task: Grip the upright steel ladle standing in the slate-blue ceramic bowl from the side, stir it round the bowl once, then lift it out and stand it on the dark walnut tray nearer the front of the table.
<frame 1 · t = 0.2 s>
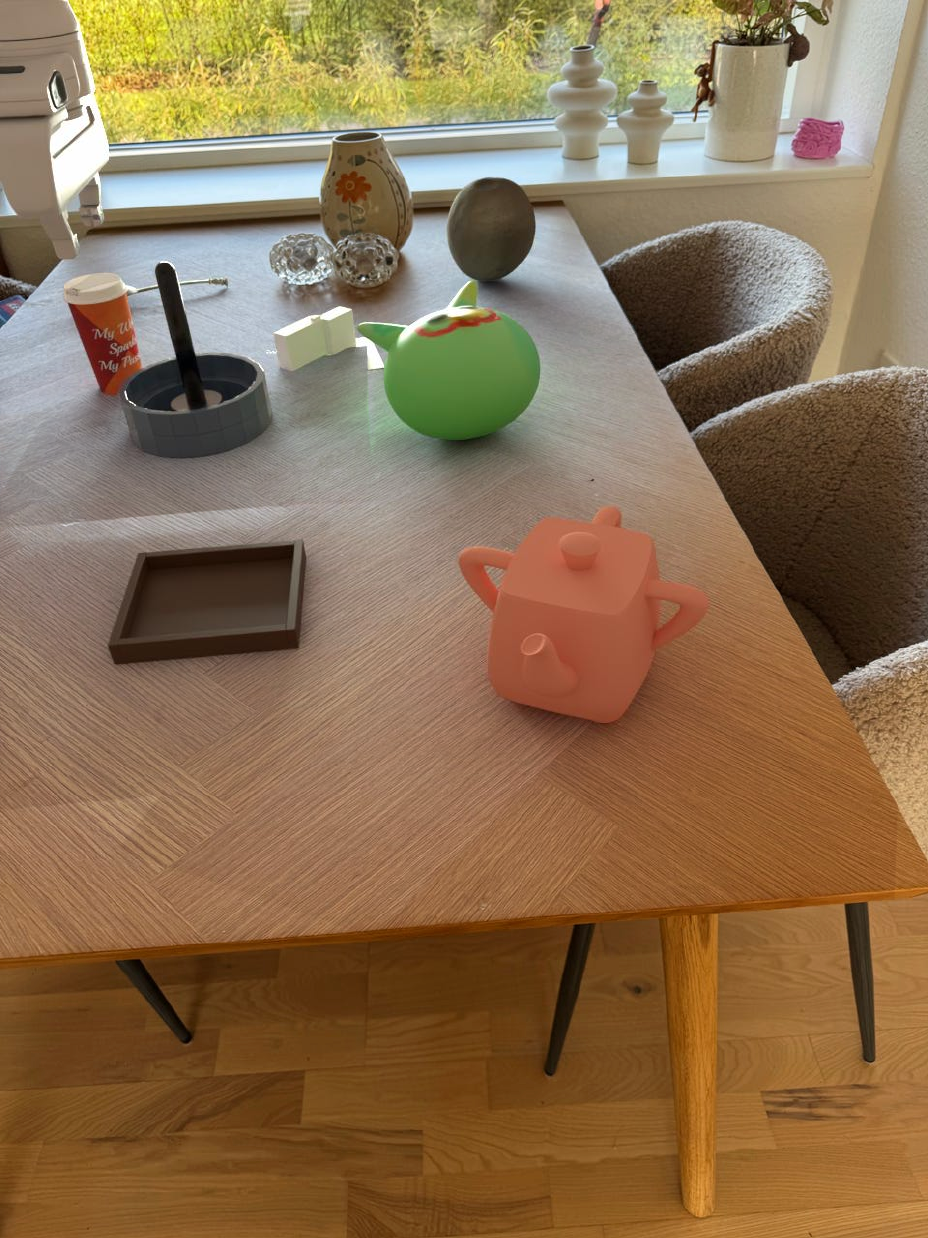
hand: (82, 240, 88), 25 cm above the table, tool pointing down, fingers open, 8 cm apart
green cartoon toy: (462, 428, 109), on the table
bowl: (203, 428, 111), on the table
soupspoon: (160, 298, 147), on the table
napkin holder: (324, 360, 126), on the table
grey stone egg: (492, 281, 147), on the table
teapot: (570, 684, 74), on the table
paper cup: (124, 390, 121), on the table
tray: (216, 607, 84), on the table
ladle: (202, 423, 111), point 1 cm above the table, touching bowl
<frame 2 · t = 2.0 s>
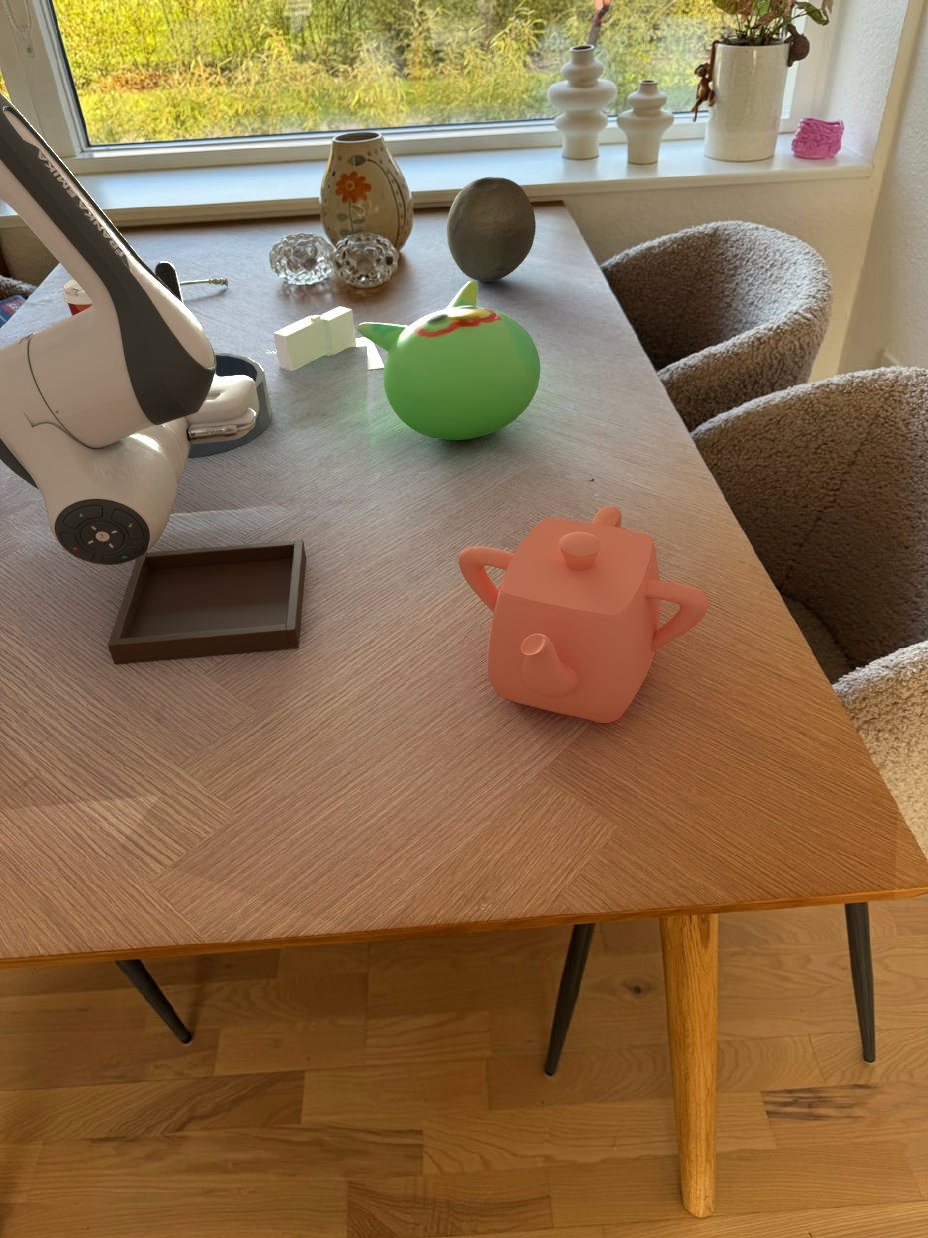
hand: (163, 379, 95), 12 cm above the table, tool horizontal, fingers open, 8 cm apart
nothing on the table moved.
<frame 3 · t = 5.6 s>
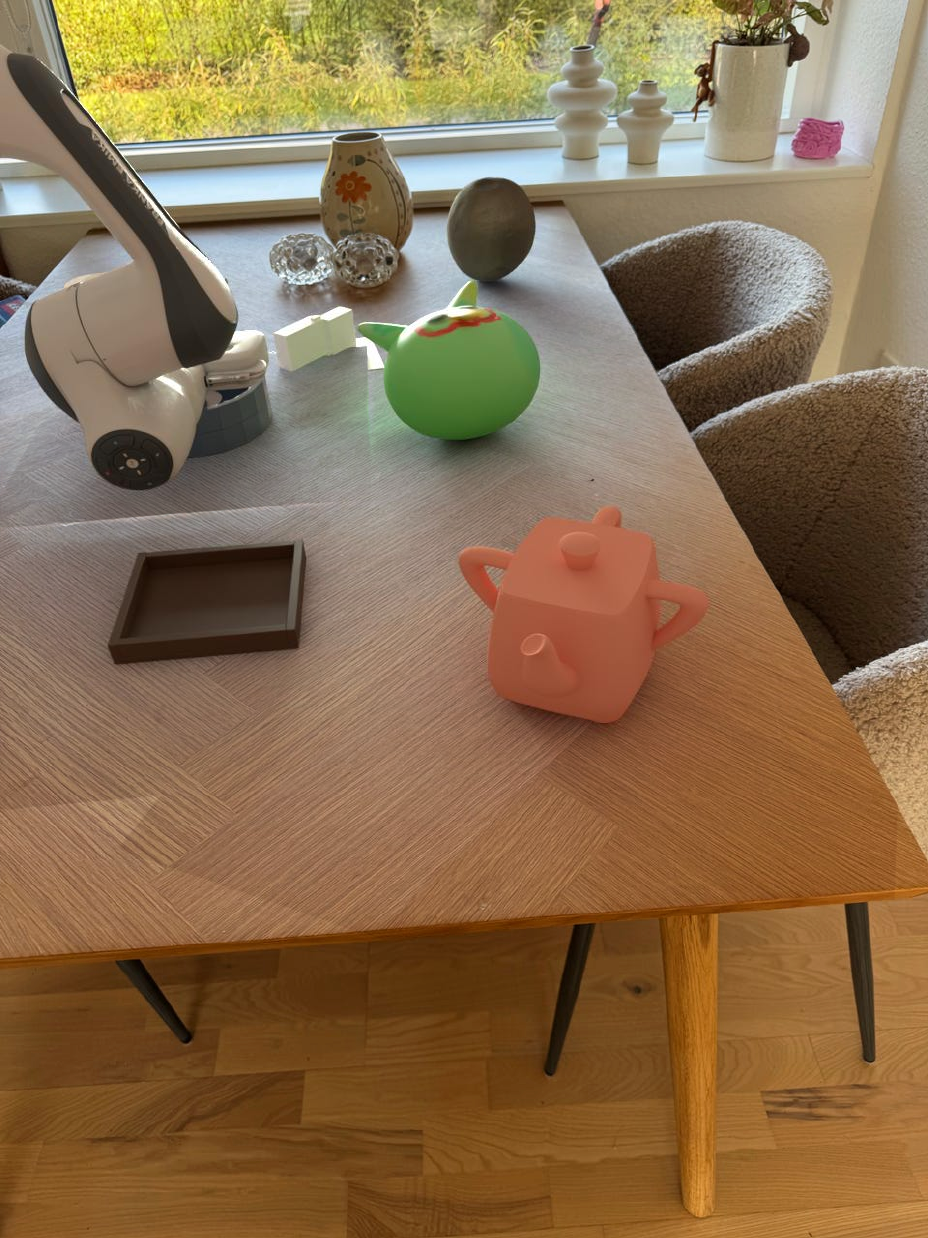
hand: (182, 334, 105), 11 cm above the table, tool horizontal, fingers closed on ladle, 2 cm apart
ladle: (202, 423, 111), point 1 cm above the table, touching bowl, gripper
everything else where it was.
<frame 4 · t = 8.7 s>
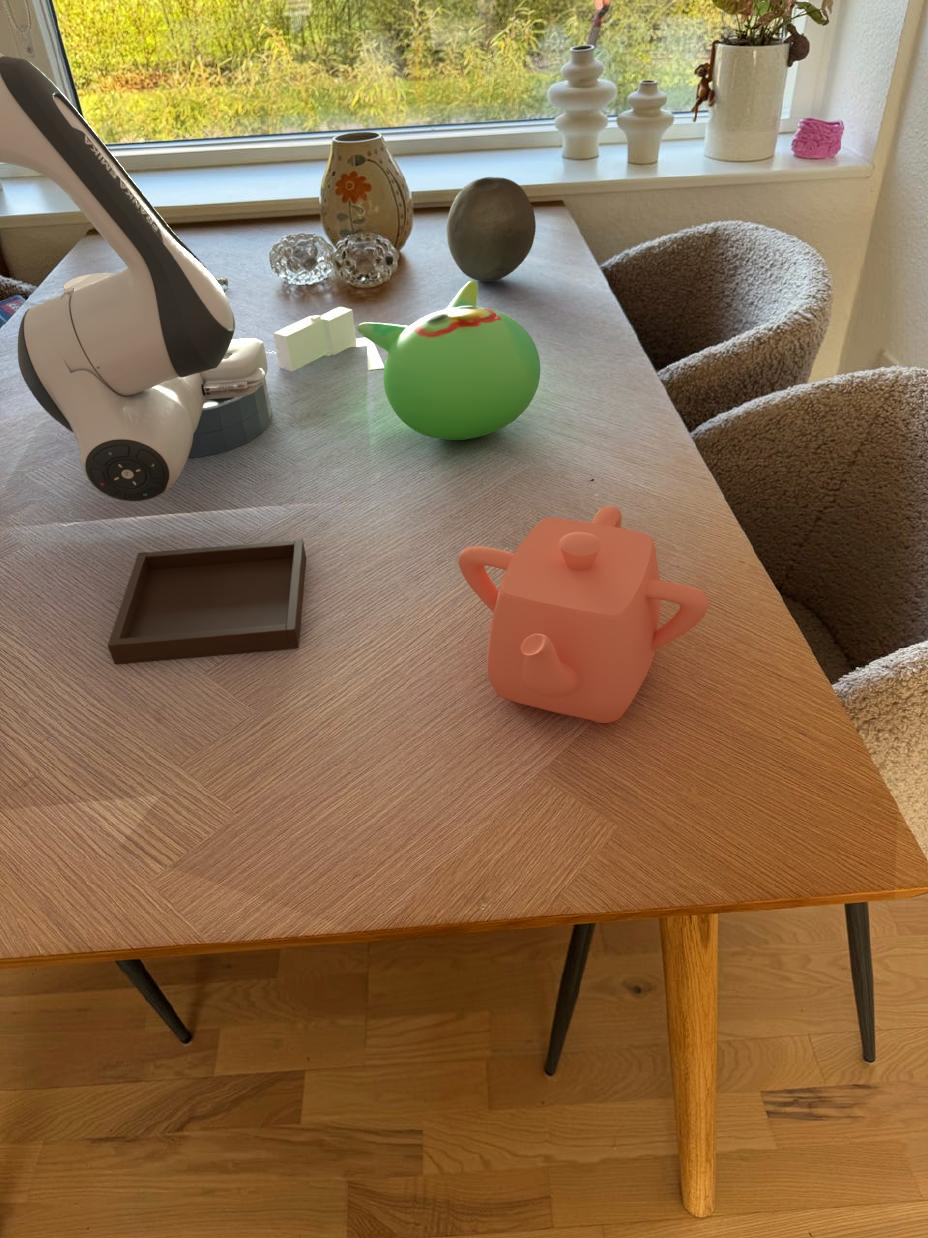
hand: (180, 341, 104), 11 cm above the table, tool horizontal, fingers closed on ladle, 2 cm apart
ladle: (198, 432, 109), point 1 cm above the table, tilted 6°, touching gripper
everything else where it was.
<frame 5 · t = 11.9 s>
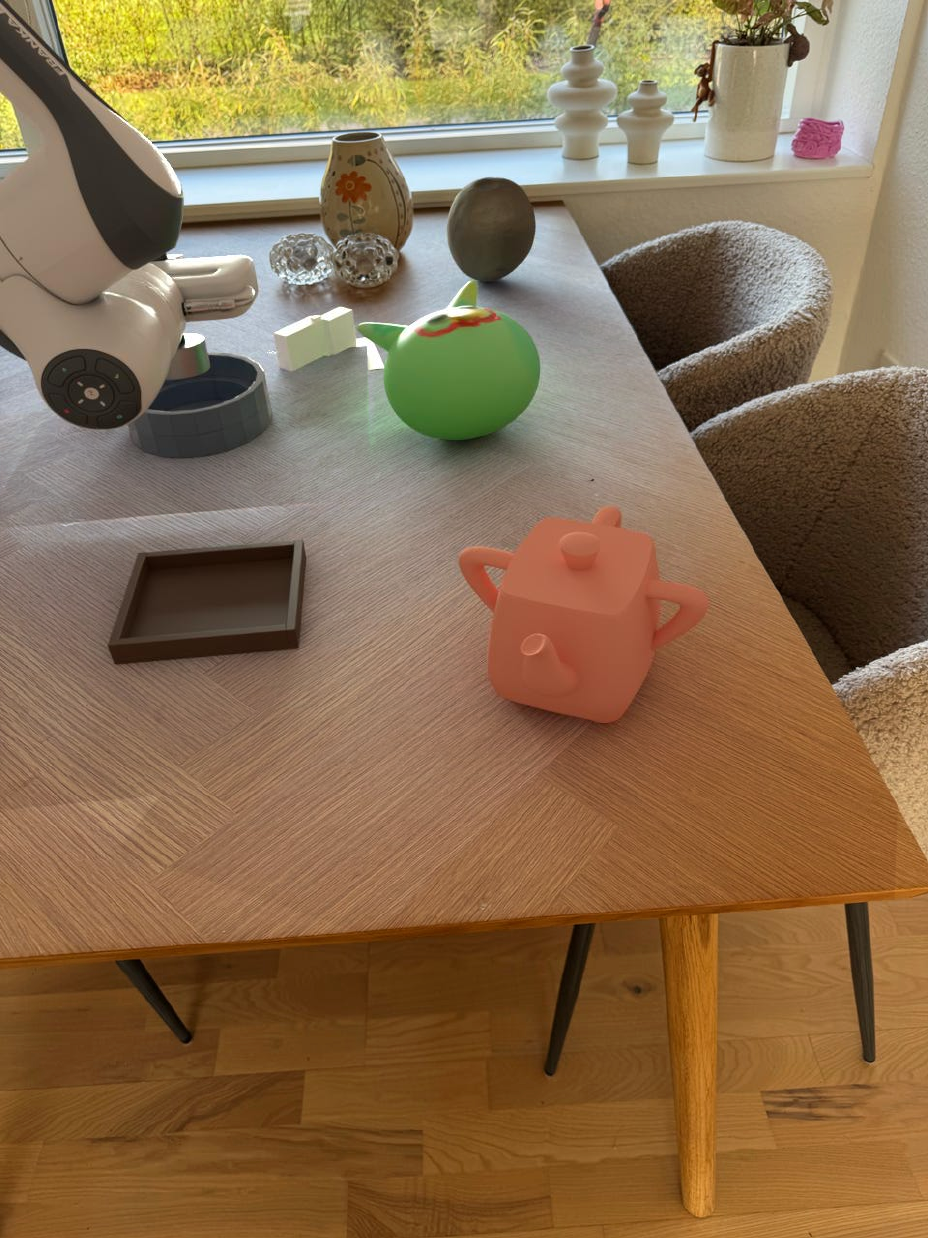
hand: (159, 263, 91), 22 cm above the table, tool horizontal, fingers closed on ladle, 2 cm apart
ladle: (181, 370, 96), point 12 cm above the table, tilted 6°, touching gripper
everything else where it was.
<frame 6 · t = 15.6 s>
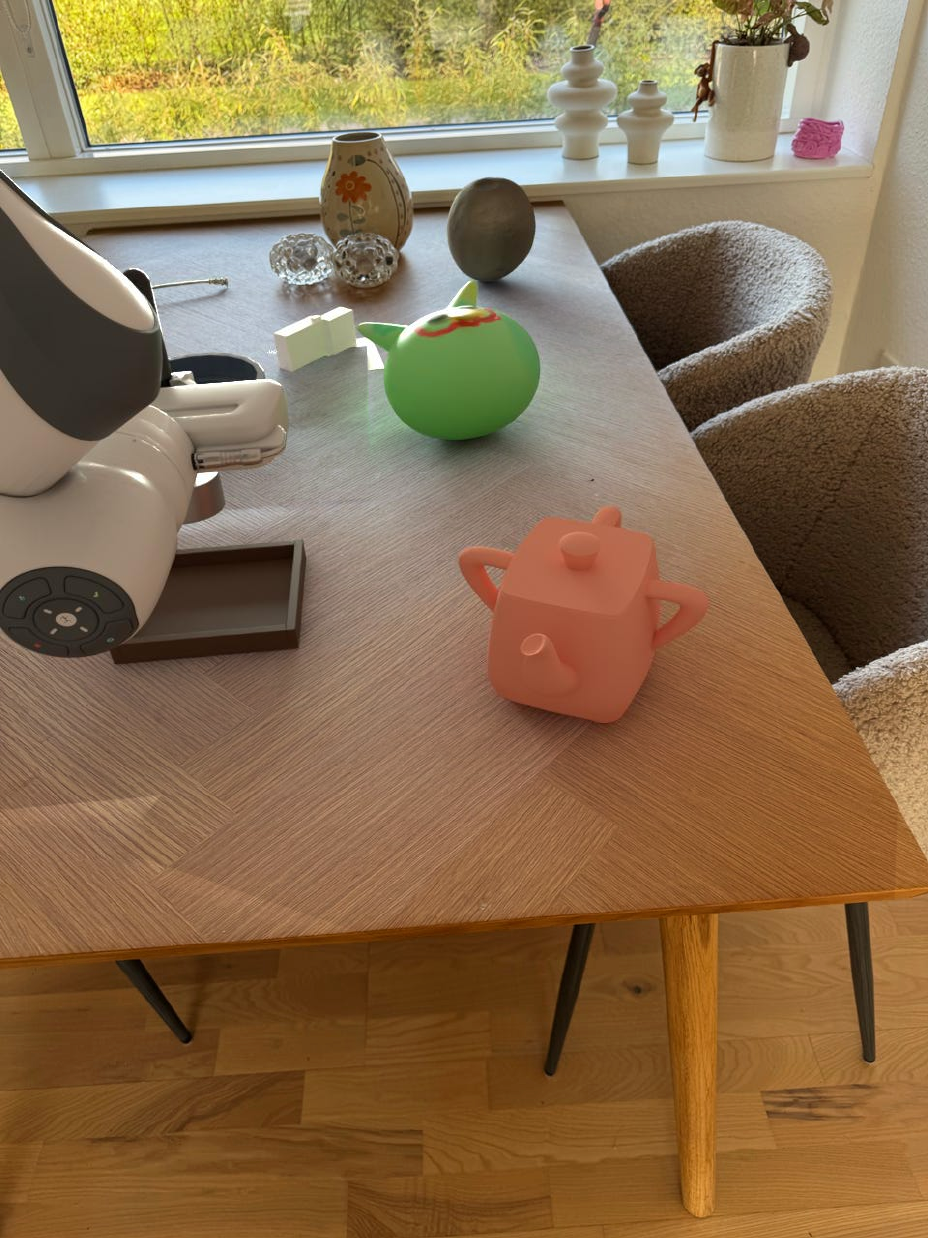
hand: (161, 382, 72), 21 cm above the table, tool horizontal, fingers closed on ladle, 2 cm apart
ladle: (189, 508, 77), point 11 cm above the table, tilted 6°, touching gripper
everything else where it was.
when the fingers open (11 cm above the table, at t = 18.5 s): ladle stays where it is, resting on tray.
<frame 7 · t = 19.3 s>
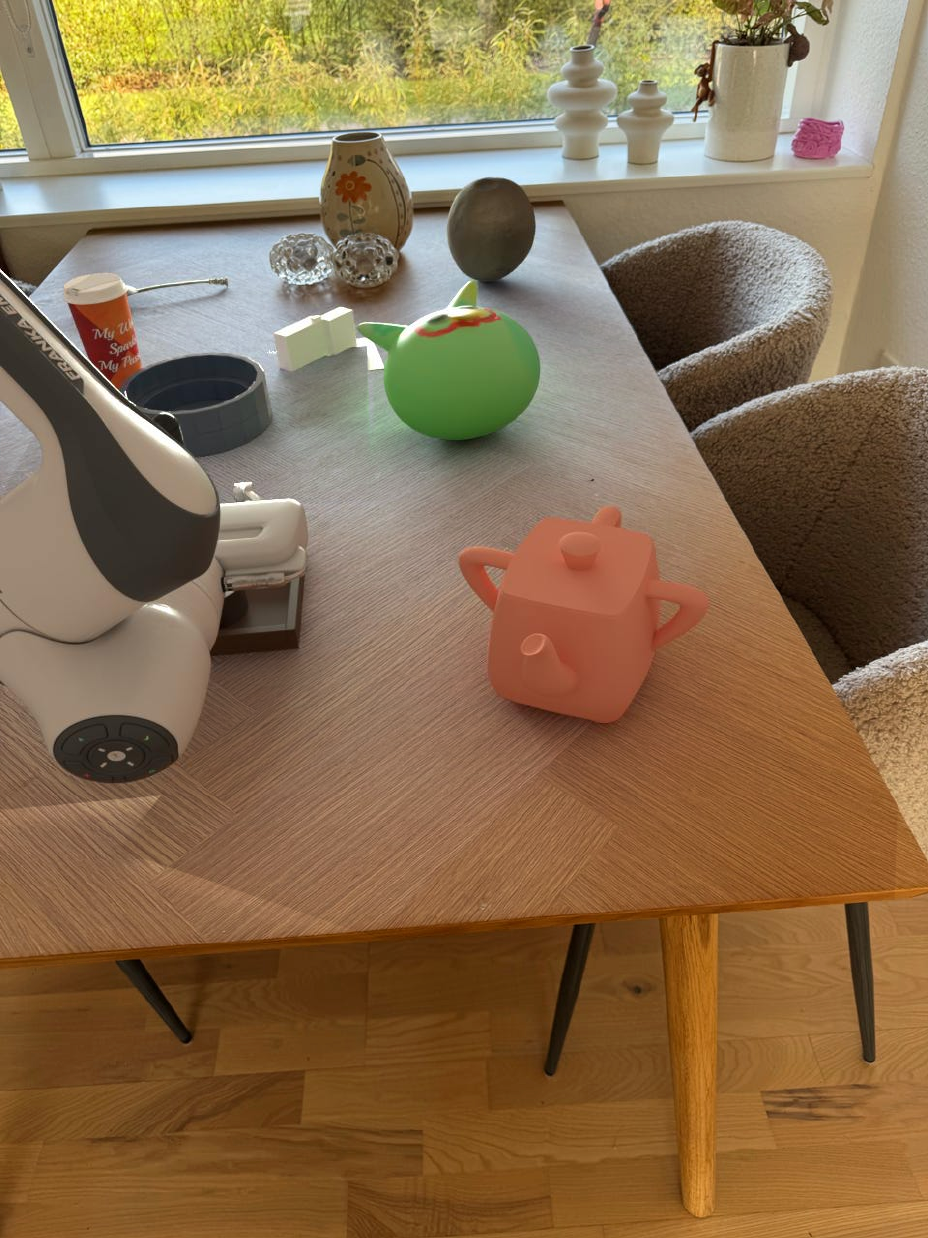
hand: (189, 494, 77), 11 cm above the table, tool horizontal, fingers open, 8 cm apart
ladle: (214, 609, 83), point 1 cm above the table, touching tray
everything else where it was.
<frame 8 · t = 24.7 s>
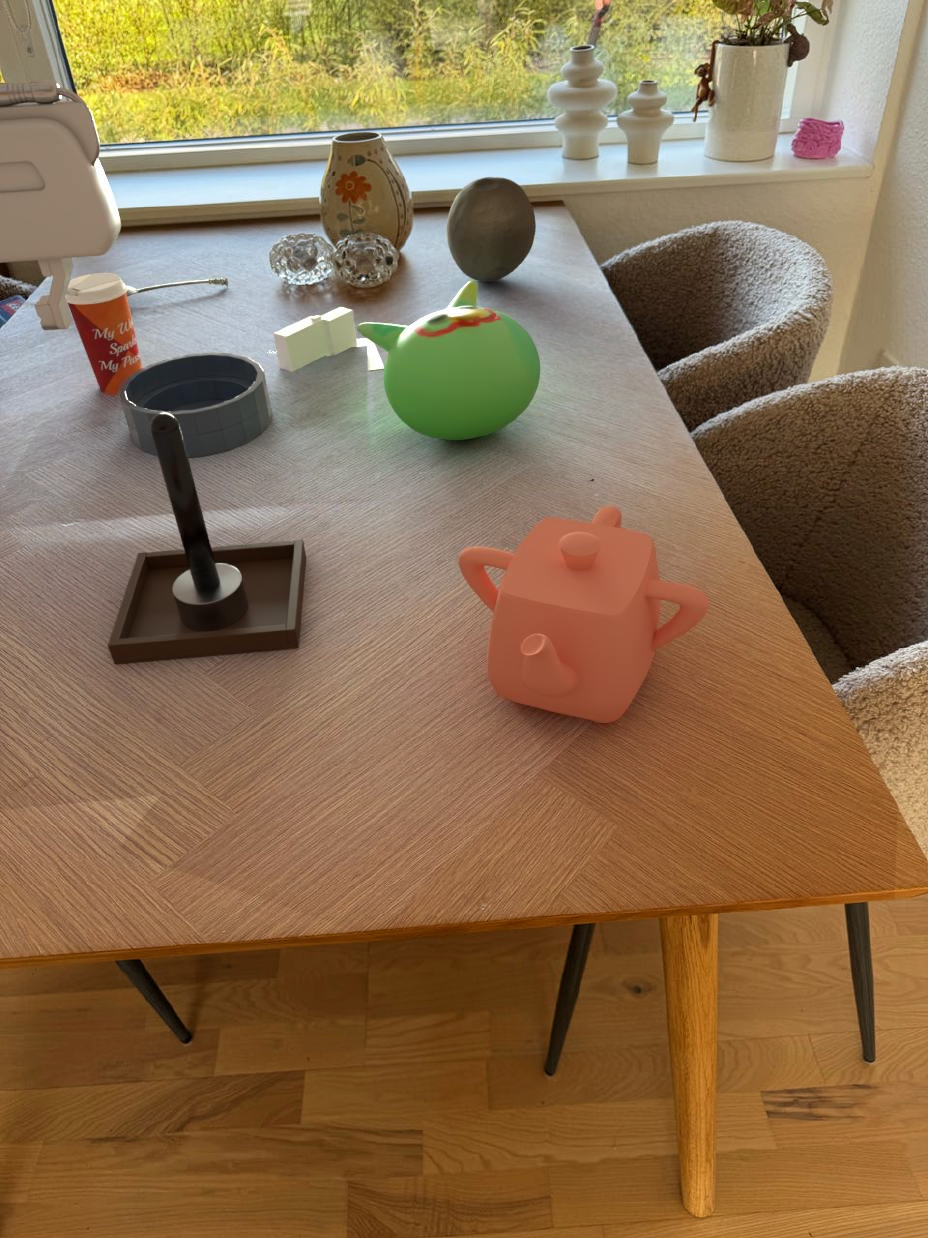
nothing on the table moved.
at the end: ladle inside the target area in the tray (1.1 cm from its centre), point 0.6 cm above the tray's base; ladle tilted 0°; ladle moved 37.6 cm from its start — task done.
